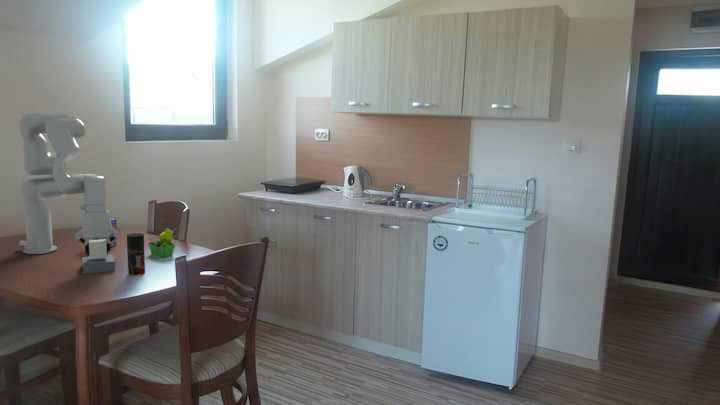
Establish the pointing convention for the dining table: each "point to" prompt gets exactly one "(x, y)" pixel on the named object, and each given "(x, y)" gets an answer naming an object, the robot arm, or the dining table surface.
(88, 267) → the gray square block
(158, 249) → the green potted plant
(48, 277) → the dining table surface
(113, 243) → the ink cartridge box
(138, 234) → the deodorant
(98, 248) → the cream cube
